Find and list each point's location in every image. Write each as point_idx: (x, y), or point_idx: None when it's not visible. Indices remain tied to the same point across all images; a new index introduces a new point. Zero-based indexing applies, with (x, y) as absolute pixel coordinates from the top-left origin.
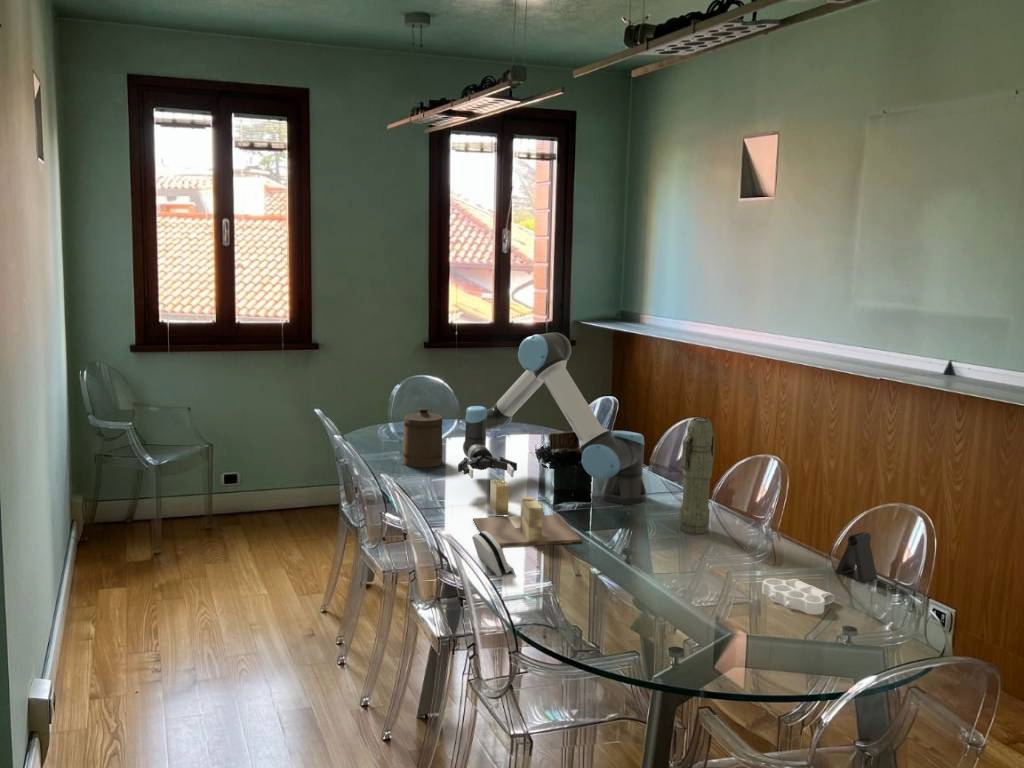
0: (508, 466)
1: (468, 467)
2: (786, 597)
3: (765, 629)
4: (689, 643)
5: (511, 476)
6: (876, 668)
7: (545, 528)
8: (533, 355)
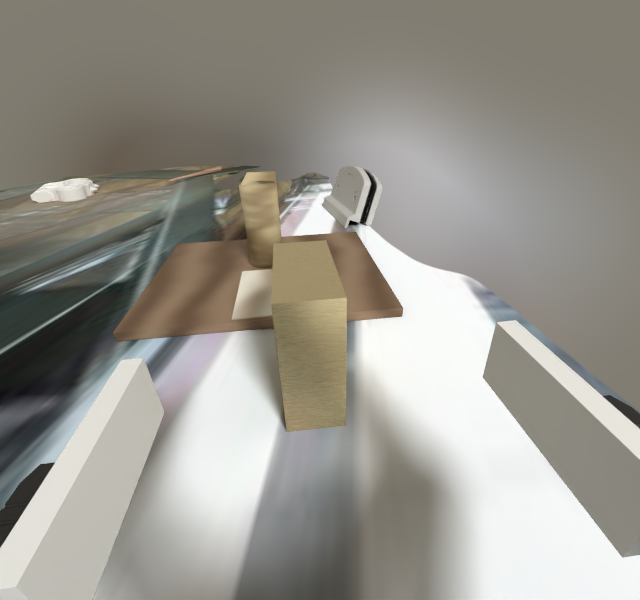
0: (79, 489)
1: (624, 432)
2: (92, 182)
3: (150, 181)
4: (218, 175)
5: (160, 409)
6: (129, 172)
7: (219, 270)
8: None
